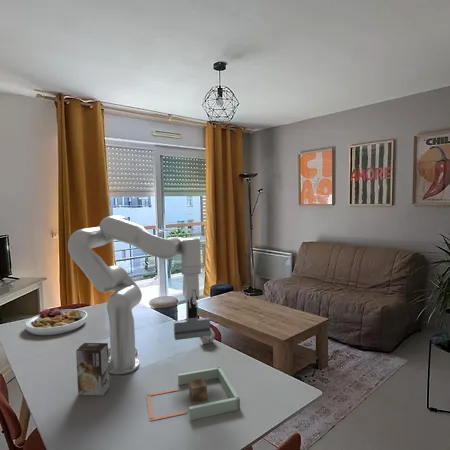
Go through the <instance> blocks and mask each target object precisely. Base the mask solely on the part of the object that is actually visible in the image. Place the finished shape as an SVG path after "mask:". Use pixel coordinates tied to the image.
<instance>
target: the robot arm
mask: <svg viewBox="0 0 450 450" xmlns="http://www.w3.org/2000/svg"><path fill="white" fill-rule="evenodd" d="M115 240H117V241H118V242H122V243H125V244H128V245H130V246H134V247H135V248H136V249H138V250H140V251H141V252H143V253H144V254H147V255H150V256H153V257H156V258H159V259H162V260H170V259H173V258H174V257H177V256H180V258H181V259H180V260H181V262H180V264H181V265H180V266H181V267H180V268H181V271H180V272H181V275H183V276H182V278H183V280H182V296H183V298H184V299H185V301H186V302H189V308H188V316H189V318H196V317H197V304H198V302H197V301H199V300H200V279H199V277H200V276H199V275H201V274H202V272H201V271H202V267H201V266H202V255H201V254H202V253H201V252H202V251H201V247H202V245H201V240H200V238H197V237H179V236H178V237H176V236H172V237H168V238H163V237H162V236H161V237H160V236H158V235H155V234H152V233H150V232H148V231H147V230H146V228H145V227H144V226H143V225H141V224H138V223H135V222H132V221H130V220H129V219H128V218H127V217H125V216H123V215H109V216H106V217H104V218H103V219H102V220H101V221H100V223H99V225H98V226H94V227H93V226H92V227H87V228H85V227H84V228H81V229H77V230H75V231H74V232H73V233H72V234H71V235H70V237H69V239H68V242H67V250H68V254H69V255H70V257H71V259H72V261H74V263H75V264H76V265H77V266H78V267H79V268H80V270H81V271H82V272H83V273H84V274H85V276H86V278H87V279H88V280H89V282H90V283H91V284H92V285H93V286H94V288H95V289H96V290H97V291H98V292H99V293H102V294H105V293H109V292H112V291H114V292H113V293H111V294H110V296H109V297H108V299H107V300H106V301H107V302H106V309H107V310H106V311H107V314H108V315H107V316H108V321H109V343H110V344H109V345H110V354H109V356H108V362H109V374H112V375H125V374H126V375H127V374H128V373H132V372H135V371H136V370H137V369H138V368H139V366H140V360H139V359H138V358H137V357H136V333H135V329H136V328H135V318H134V315H133V309H134V308H135V307H136V306H138V305H139V304H140V302H141V301H142V296H143V294H142V291H141V289H140V287H139V286H138V285H137V283H136V282H135V280H134V279H133V278H132V277H131V276H130V274H129V273H128V272H127V271H126V270H125V268H123V267H122V266H120V265H109V266H108V265H107V264H106V262H105V261H104V260H103V258H102V256H100V255H99V254H98V253H96V252H95V251H94V250H93V249H94V248H99V247H102V246H105V245H107V244H109V243H111V242H113V241H115Z"/></svg>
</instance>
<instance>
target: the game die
mask: <svg viewBox="0 0 450 450" xmlns="http://www.w3.org/2000/svg"><path fill="white" fill-rule="evenodd" d="M210 330H211V336H204V337H199V339H200V341H201V343H202V346H205V345H206V344H207V345H208V344H213V345H214V340H215V338H216V336H217V335H218V334H217V333H215V331H214V330H213V328H212V325H210Z"/></svg>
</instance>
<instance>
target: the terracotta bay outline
mask: <svg viewBox="0 0 450 450" xmlns="http://www.w3.org/2000/svg"><path fill="white" fill-rule="evenodd" d="M174 392H180V388H173V389H168V390H167V389H166V390H162V391H156V392H152V393H147V394H146V402H147V408H148V409H147V410H148V418H149V422H153V421H158V420H162V419H168V418H173V417H177V416H181V415H186V414H187V411H186V410H182V411H177V412H172V413H169V414H163V415H159V416H154V412H153V405H152V396H158V395H164V394H168V393H169V394H170V393H174Z"/></svg>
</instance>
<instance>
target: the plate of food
mask: <svg viewBox="0 0 450 450" xmlns="http://www.w3.org/2000/svg"><path fill="white" fill-rule="evenodd" d="M87 319H88V313H87V311H85V310H82V309H71V308H70V309H69V308H68V309H67V308H66V309H59V308H54V309H52V310H51V309H49V308H45V309H43V310H41V311H40V313H39V314H37V315H35V316H32V317H30V318H28V319H27V320H26V321H25V329H26V331H28V333H30V334H32V335H36V336H53V335H60V334H65V333H68V332H72V331H74V330H77V329H79V328H80V327H82V326H83V325H84V324H85V323H86V321H87Z"/></svg>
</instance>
